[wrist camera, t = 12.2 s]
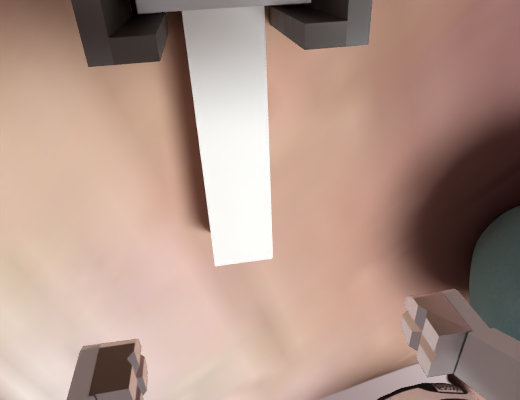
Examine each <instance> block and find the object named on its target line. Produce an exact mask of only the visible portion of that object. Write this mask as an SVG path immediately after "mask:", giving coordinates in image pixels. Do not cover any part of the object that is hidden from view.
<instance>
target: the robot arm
mask: <svg viewBox="0 0 520 400" xmlns="http://www.w3.org/2000/svg"><path fill="white" fill-rule="evenodd" d="M405 307H406V309H407V311H406V312H405V313H404V314H403V315H402V320H401V326H402V332H403V335H404V338H405V340H406V342H407V343H408V345H409V346H410V347H412V348H413V349H415V350H416V351H417V356H416V359H417V361H418V362H419V364H420V366H421V367H422V369H423V371H424V373H425V374H426V376H427V377H432V376H439V375H445V374H452V373H454V375H455V376H457V377H458V378H459V379H460V380H462V381H463V382H464V383H466V384H467V385H468V386H470V387H471V388H472V389H473V390H475V391H476V392H477V393H479V394H480V395H481V396H483V397H484V398H485V399H487V400H520V341H518V340H516V339H515V338H513V337H511V336H509V335H507V334H505V333H503V332H501V331H499V330H497V329H495V328H489V327H488V326H487V325H486V323H485V322H484V321H483V320H482V319H481V317H480V316H479V315H478V314H477V313H476V311H475V310H474V309H473V308H472V307H471V306H470V304H469V303H468V302H467V301H466V300H465V298H464V297H463V296H462V295H461V294H460V292H459V291H457V290H456V289H450V290H444V291H438V292H437V291H436V292H430V293H424V294H418V295H412V296H408V297H407V298H406V300H405ZM140 354H141V345H140V342H139V339H132V340H125V341H117V342H109V343H102V344H96V345H88V346H83V348H82V349H81V351H80V353H79V357H78V360H77V364H76V367H75V371H74V375H73V378H72V382H71V386H70V389H69V393H68V397H67V400H144V399H143V395H144V393H145V392H146V391H147V366H146V361H145V357H144V356H142V355H140Z"/></svg>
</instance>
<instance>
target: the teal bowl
mask: <svg viewBox="0 0 520 400" xmlns="http://www.w3.org/2000/svg"><path fill="white" fill-rule="evenodd" d="M469 297H470V306H471V307H472V308H473V309H474V310H475V311H476V313H477V314H478V315H479V316H480V317H481V319H482V320H483V321H484V322H485V323H486V325H487V326H488V327H489V328H495V329H497V330H499V331H501V332H503V333H505V334H507V335H509V336H511V337H513V338H515V339H516V340H518V341H520V206H517V207H515V208H513V209H511V210H509V211H507V212H505V213H504V214H502V215H501V216H499V217H498V218H497V219H495V220H494V221H493V222H492V223H491V224H490V225H489V226H488V227H487V228H486V229H485V231H484V232H483V233H482V234H481V236H480V238H479V239H478V241H477V243H476V246H475V248H474V252H473V256H472V262H471V269H470V280H469Z"/></svg>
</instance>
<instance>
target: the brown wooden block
mask: <svg viewBox="0 0 520 400" xmlns="http://www.w3.org/2000/svg"><path fill="white" fill-rule="evenodd" d="M71 2H72V6H73V10H74V13H75V17H76V21H77V25H78V29H79V33H80V36H81V40H82V44H83V48H84V52H85V56H86V59H87V63H88V67H94V66H106V65H119V64H131V63H144V62H157V61H160V60H161V56H162V53H163V49H164V46H165V42H166V39H167V35H168V28H167V21H166V15H165V13H163V14H148V15H132V10H131V5H130V0H71ZM371 9H372V0H311V3H301V4H298V5H283V6H270V13H271V26H273V27H274V28H276V29H277V30H278V31H280V32H281V33H282V34H284V35H285V36H287V37H288V38H289V39H291V40H292V41H293V42H295V43H296V44H297V45H299V46H300V47H302V48H303V49H304V50H308V49H321V48H333V47H346V46H358V45H368V43H369V32H370V21H371Z"/></svg>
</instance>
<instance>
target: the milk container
mask: <svg viewBox="0 0 520 400" xmlns="http://www.w3.org/2000/svg"><path fill="white" fill-rule="evenodd" d="M378 400H478V399H477V398H476V397H475V396H474V395H473V394H471V393H470V392H468V391H467V390H465V389H463V388H461V387H458V386H455V385H451V384H446V383H422V384H417V385H414V386H409V387H404V388H401V389H398V390H396V391H394V392H392V393H390V394H387V395H385V396H383V397H380V398H379V399H378Z"/></svg>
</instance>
